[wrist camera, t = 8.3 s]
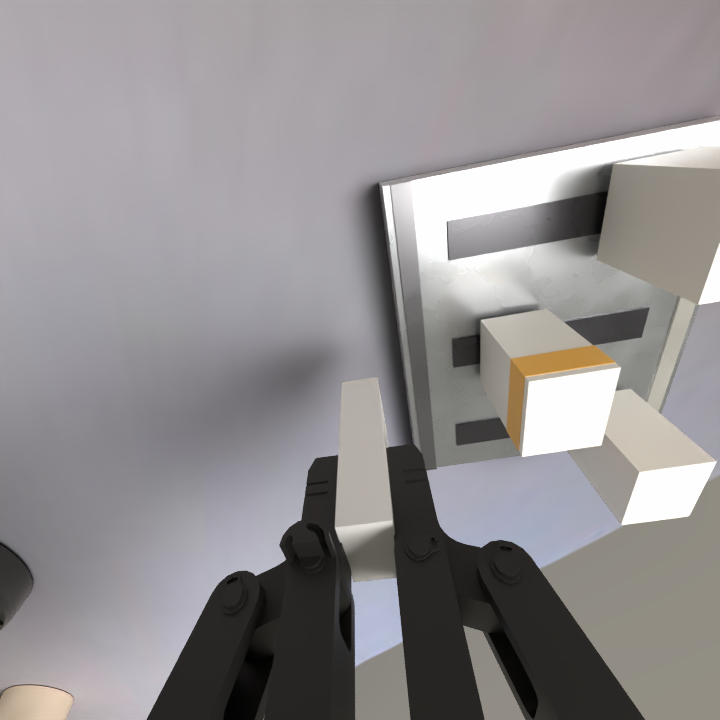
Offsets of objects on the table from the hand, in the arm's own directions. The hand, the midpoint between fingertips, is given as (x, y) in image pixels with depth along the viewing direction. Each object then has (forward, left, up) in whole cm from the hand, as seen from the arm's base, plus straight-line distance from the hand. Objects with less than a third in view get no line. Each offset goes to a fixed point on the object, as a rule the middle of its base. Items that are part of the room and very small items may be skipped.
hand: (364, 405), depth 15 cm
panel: (+9, 0, -5) cm, 10 cm away
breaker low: (+12, -5, -3) cm, 14 cm away
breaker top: (+12, +6, -3) cm, 14 cm away
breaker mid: (+7, 0, -3) cm, 8 cm away
